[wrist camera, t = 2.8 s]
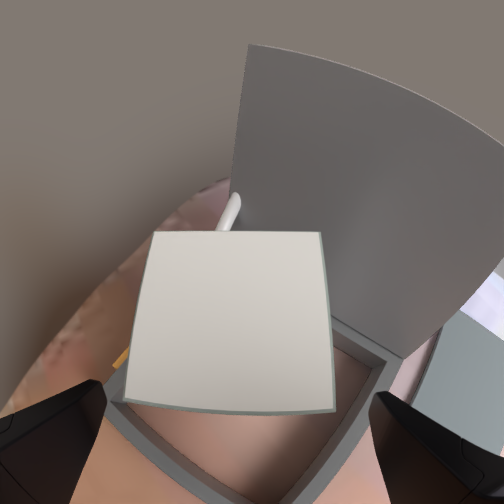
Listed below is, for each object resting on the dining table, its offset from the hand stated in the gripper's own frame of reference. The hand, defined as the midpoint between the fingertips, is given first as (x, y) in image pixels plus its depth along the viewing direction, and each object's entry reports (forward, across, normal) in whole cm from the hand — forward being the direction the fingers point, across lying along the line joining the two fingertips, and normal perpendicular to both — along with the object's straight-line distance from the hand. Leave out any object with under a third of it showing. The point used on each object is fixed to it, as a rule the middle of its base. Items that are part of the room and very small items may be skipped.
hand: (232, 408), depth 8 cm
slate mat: (+6, -18, +8) cm, 20 cm away
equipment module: (+8, 0, +5) cm, 10 cm away
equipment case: (+9, -1, +5) cm, 10 cm away
